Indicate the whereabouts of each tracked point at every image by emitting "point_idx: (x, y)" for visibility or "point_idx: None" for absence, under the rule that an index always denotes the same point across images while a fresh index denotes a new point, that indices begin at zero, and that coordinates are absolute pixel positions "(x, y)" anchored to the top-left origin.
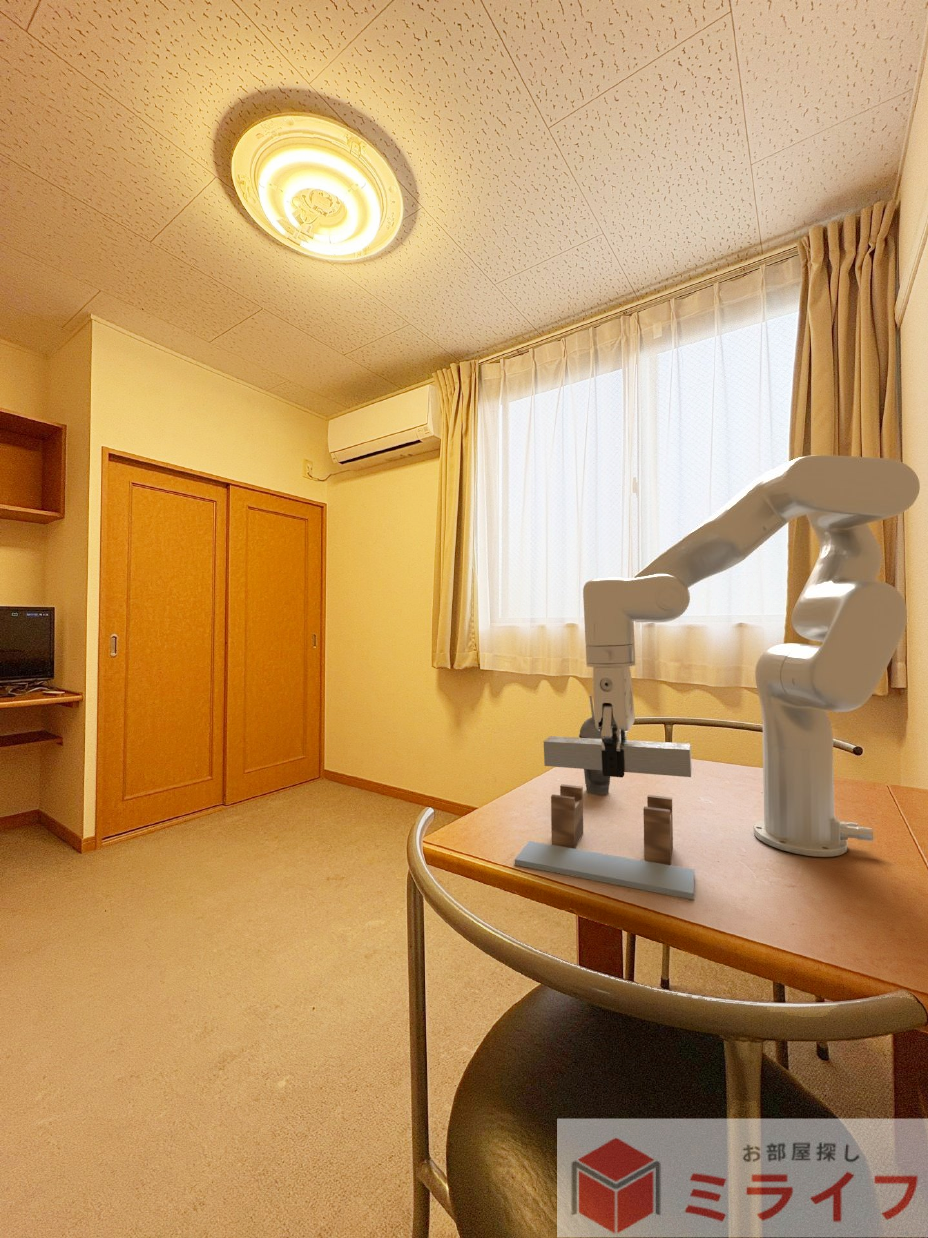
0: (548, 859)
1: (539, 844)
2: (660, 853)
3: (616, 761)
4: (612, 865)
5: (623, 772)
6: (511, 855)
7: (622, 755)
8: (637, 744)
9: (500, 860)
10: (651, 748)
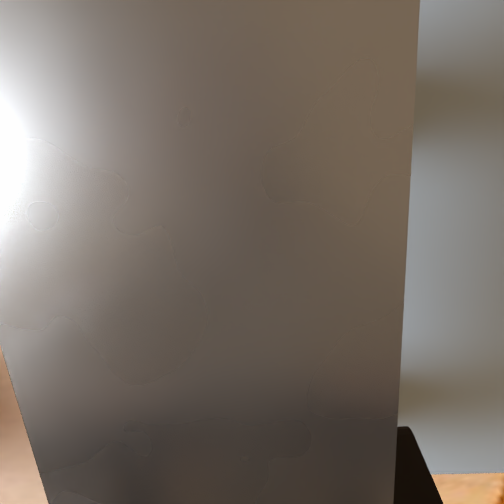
0: (475, 402)
1: None
2: None
3: (431, 488)
4: (452, 238)
5: None
6: (443, 482)
7: (406, 493)
8: (255, 463)
9: (481, 494)
10: (400, 271)
